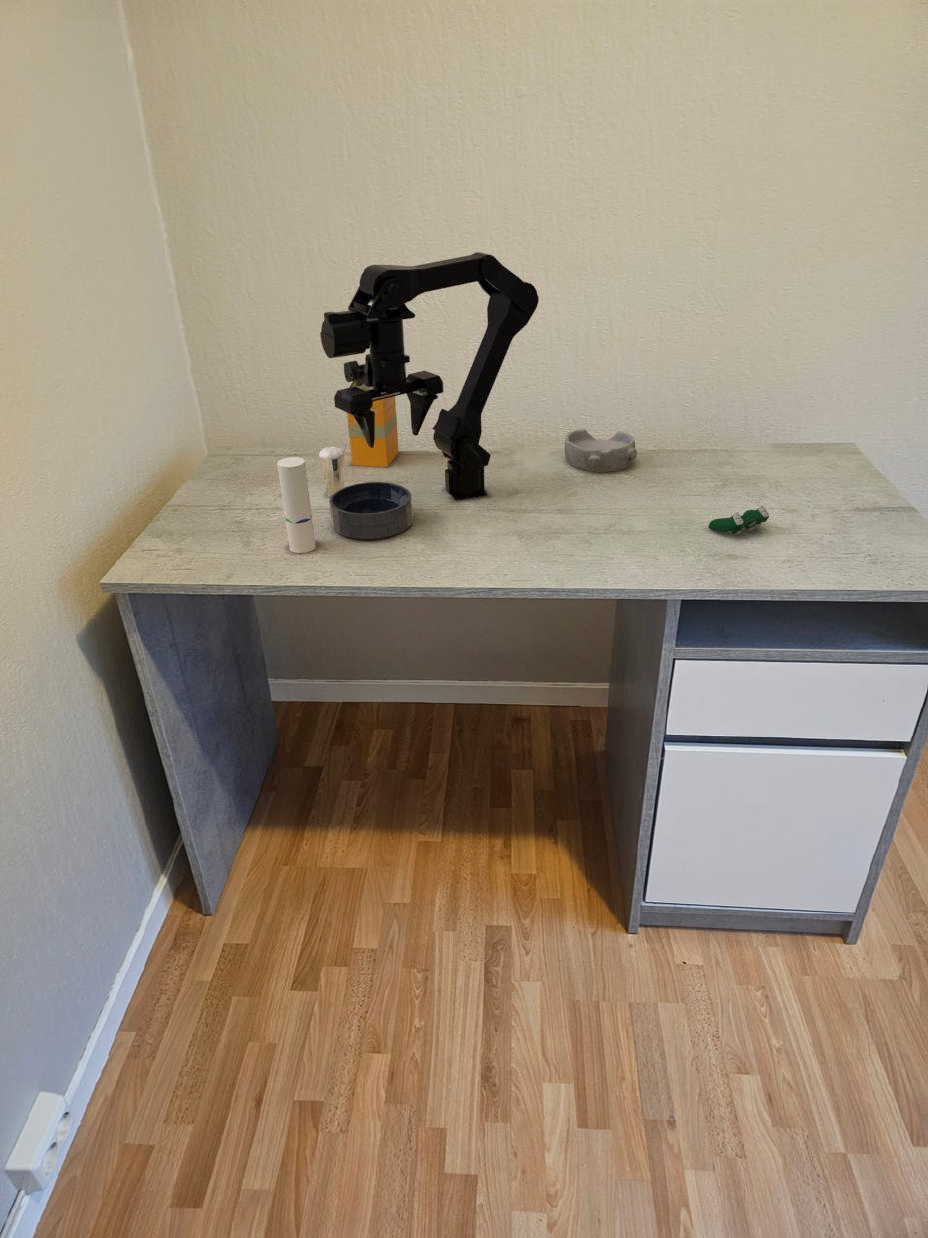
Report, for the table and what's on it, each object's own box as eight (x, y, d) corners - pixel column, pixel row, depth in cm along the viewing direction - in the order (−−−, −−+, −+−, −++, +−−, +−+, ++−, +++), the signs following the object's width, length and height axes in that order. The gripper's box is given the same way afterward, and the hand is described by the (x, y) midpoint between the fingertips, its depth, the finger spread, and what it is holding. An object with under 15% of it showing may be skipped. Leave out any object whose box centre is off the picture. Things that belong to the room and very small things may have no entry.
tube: (295, 540, 142) (283, 456, 134) (319, 542, 141) (308, 457, 133) (286, 552, 138) (272, 466, 130) (310, 553, 137) (298, 467, 129)
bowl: (401, 502, 154) (399, 477, 152) (421, 533, 143) (420, 506, 140) (326, 514, 151) (323, 488, 148) (341, 547, 139) (338, 519, 137)
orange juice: (399, 451, 177) (393, 356, 166) (387, 467, 170) (380, 367, 159) (364, 450, 178) (355, 354, 168) (351, 465, 171) (341, 366, 161)
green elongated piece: (713, 544, 141) (735, 531, 135) (705, 523, 141) (726, 509, 136) (754, 532, 144) (777, 518, 139) (746, 512, 145) (768, 498, 139)
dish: (558, 451, 175) (559, 428, 172) (622, 447, 176) (624, 424, 173) (573, 477, 162) (574, 453, 160) (642, 473, 164) (645, 448, 161)
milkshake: (347, 500, 156) (342, 448, 151) (320, 498, 157) (314, 447, 152) (355, 490, 160) (350, 440, 154) (328, 489, 161) (322, 438, 155)
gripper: (405, 331, 147) (410, 418, 155) (312, 349, 137) (323, 441, 145) (443, 342, 139) (447, 433, 147) (348, 362, 130) (357, 458, 138)
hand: (393, 440), depth 145 cm, fingers open, 9 cm apart
